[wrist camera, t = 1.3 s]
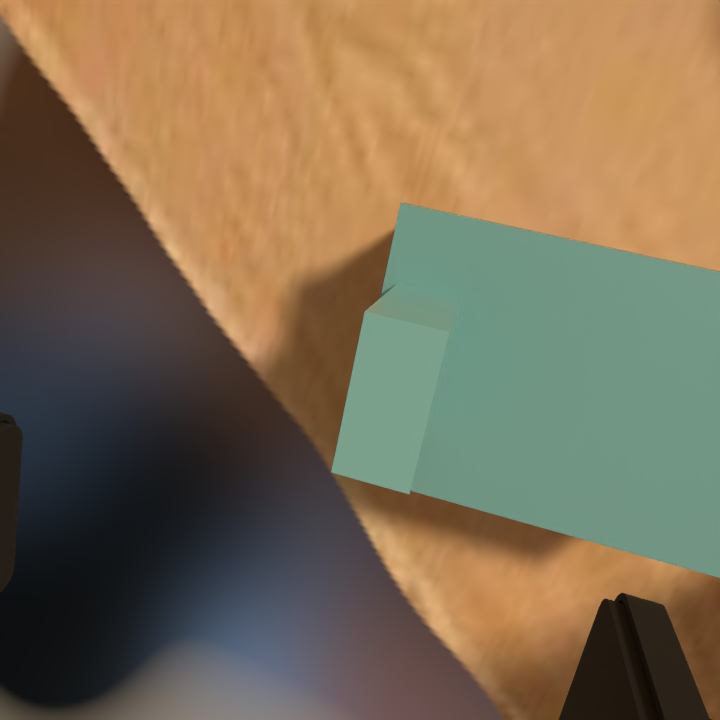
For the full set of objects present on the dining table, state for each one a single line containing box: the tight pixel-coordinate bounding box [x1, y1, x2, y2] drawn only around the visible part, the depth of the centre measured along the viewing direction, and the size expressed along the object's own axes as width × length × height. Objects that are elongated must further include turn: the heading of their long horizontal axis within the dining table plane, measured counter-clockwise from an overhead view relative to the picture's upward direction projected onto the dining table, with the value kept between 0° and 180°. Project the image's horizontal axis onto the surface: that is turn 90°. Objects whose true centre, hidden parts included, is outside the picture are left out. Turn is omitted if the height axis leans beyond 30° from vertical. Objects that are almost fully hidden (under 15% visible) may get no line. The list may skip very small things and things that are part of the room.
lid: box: [331, 203, 720, 578], centre depth 22 cm, size 15×11×8 cm
